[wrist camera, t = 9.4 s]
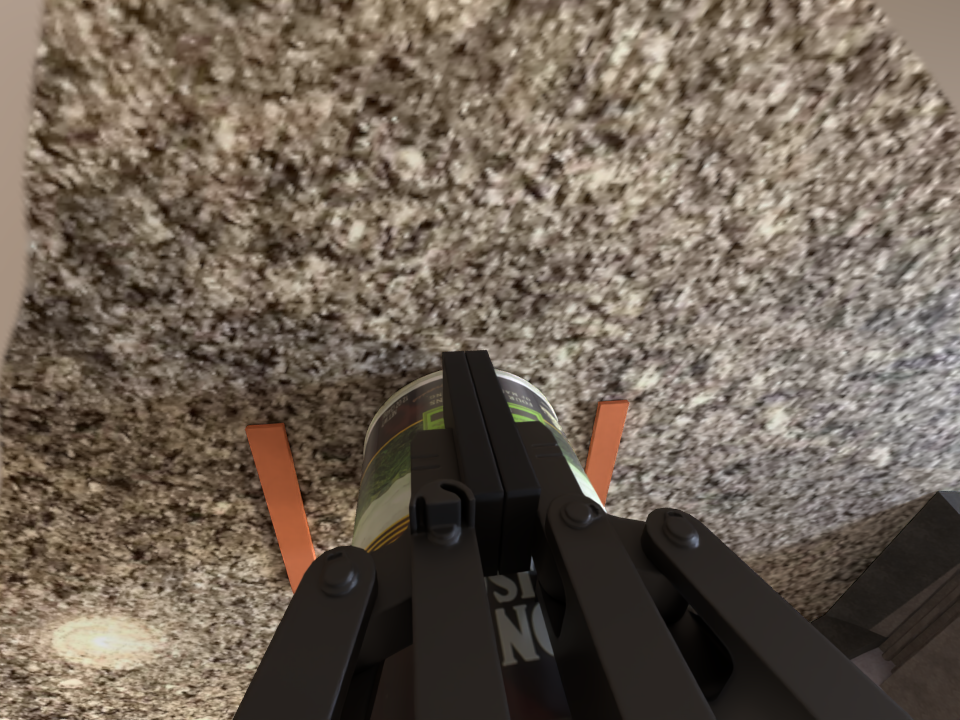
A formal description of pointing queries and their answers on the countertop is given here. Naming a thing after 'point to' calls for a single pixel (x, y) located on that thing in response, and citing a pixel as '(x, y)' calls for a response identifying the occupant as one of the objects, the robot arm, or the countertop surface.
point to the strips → (288, 504)
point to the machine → (909, 615)
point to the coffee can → (510, 596)
